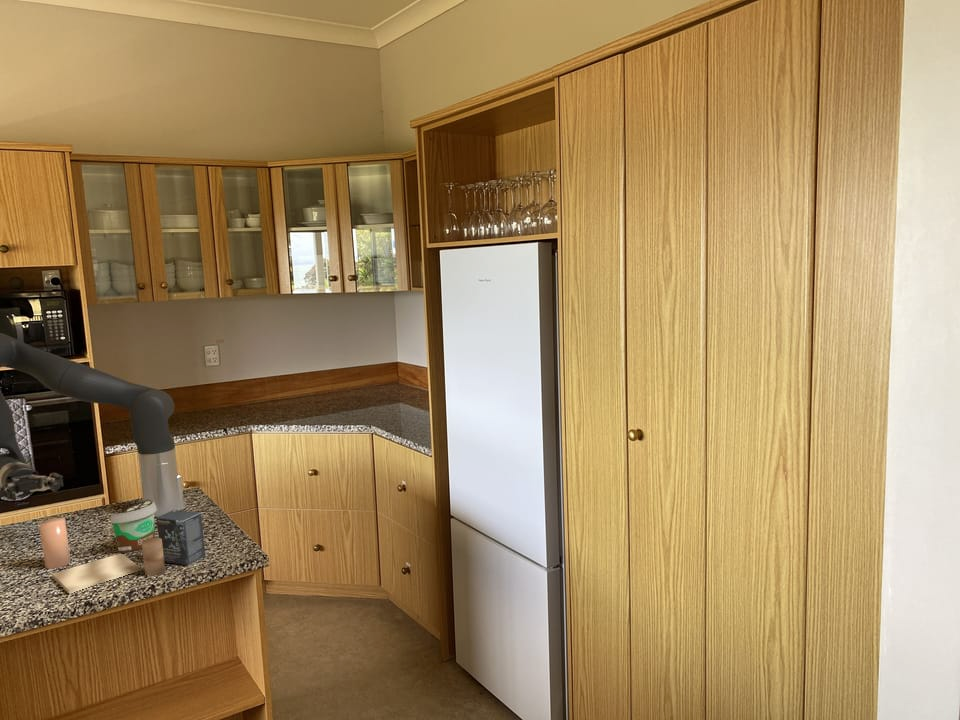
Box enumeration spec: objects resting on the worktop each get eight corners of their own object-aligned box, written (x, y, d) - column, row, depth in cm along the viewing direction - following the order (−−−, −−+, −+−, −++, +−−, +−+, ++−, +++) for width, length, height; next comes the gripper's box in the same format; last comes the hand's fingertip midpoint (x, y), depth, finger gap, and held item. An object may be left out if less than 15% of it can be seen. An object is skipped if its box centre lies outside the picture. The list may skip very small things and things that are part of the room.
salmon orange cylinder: (67, 557, 165) (61, 516, 164) (73, 563, 162) (67, 520, 160) (42, 564, 162) (36, 522, 160) (48, 570, 158) (42, 527, 157)
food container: (137, 557, 163) (133, 515, 162) (114, 556, 165) (109, 514, 163) (171, 536, 175) (166, 497, 174) (149, 536, 176) (144, 497, 175)
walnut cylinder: (161, 566, 157) (157, 536, 156) (168, 571, 154) (164, 540, 153) (142, 572, 154) (138, 541, 153) (149, 577, 152) (145, 546, 151)
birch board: (121, 557, 164) (121, 553, 163) (140, 571, 155) (140, 567, 155) (52, 578, 154) (52, 573, 154) (69, 594, 145) (68, 589, 145)
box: (160, 562, 159) (155, 517, 158) (179, 552, 165) (174, 508, 163) (188, 566, 157) (183, 520, 155) (206, 556, 162) (201, 511, 160)
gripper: (-18, 470, 174) (-3, 483, 162) (48, 458, 183) (67, 469, 172) (-14, 500, 174) (1, 515, 163) (51, 486, 184) (70, 499, 173)
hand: (35, 491), depth 168 cm, fingers open, 8 cm apart
